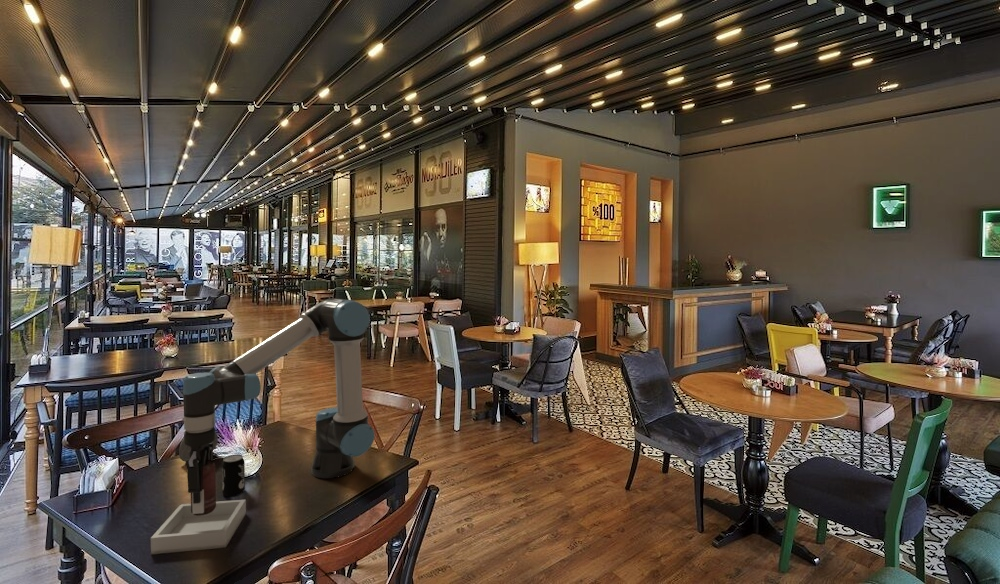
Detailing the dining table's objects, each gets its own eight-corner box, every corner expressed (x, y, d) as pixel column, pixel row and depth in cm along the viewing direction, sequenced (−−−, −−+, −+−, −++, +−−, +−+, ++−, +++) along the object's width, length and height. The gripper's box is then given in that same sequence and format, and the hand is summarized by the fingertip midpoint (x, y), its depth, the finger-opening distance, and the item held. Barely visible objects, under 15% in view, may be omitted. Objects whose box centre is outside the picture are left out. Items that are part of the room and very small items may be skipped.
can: (185, 516, 137) (184, 468, 136) (199, 505, 143) (198, 458, 143) (207, 517, 137) (206, 468, 136) (220, 505, 144) (219, 459, 143)
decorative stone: (206, 449, 199) (205, 413, 198) (226, 453, 196) (225, 416, 195) (171, 464, 184) (170, 425, 183) (192, 468, 181) (191, 428, 180)
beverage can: (235, 498, 159) (234, 462, 159) (217, 496, 161) (217, 460, 160) (249, 489, 166) (248, 454, 165) (232, 487, 167) (231, 453, 166)
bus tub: (246, 513, 150) (245, 499, 150) (225, 547, 133) (225, 531, 132) (181, 518, 147) (180, 504, 146) (151, 554, 129) (150, 538, 129)
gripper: (196, 419, 145) (198, 496, 146) (171, 439, 129) (173, 525, 130) (224, 418, 146) (225, 494, 148) (203, 438, 130) (204, 523, 132)
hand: (201, 509), depth 139 cm, fingers open, 3 cm apart
